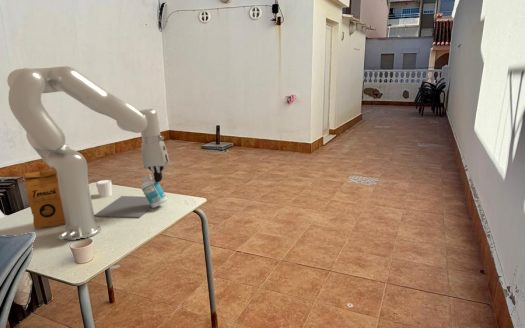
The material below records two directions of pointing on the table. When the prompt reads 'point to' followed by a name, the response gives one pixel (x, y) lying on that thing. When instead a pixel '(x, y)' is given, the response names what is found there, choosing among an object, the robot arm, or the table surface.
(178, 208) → the table surface
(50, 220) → the coffee package
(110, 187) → the white ridged cylinder
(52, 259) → the table surface
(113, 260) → the table surface
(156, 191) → the pill bottle
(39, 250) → the table surface
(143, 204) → the mat
